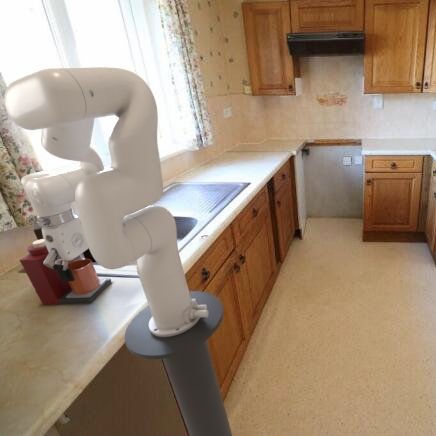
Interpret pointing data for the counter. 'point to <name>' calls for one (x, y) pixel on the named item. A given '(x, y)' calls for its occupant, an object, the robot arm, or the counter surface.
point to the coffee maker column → (44, 276)
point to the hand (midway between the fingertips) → (81, 271)
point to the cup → (83, 276)
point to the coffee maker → (84, 298)
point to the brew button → (39, 243)
